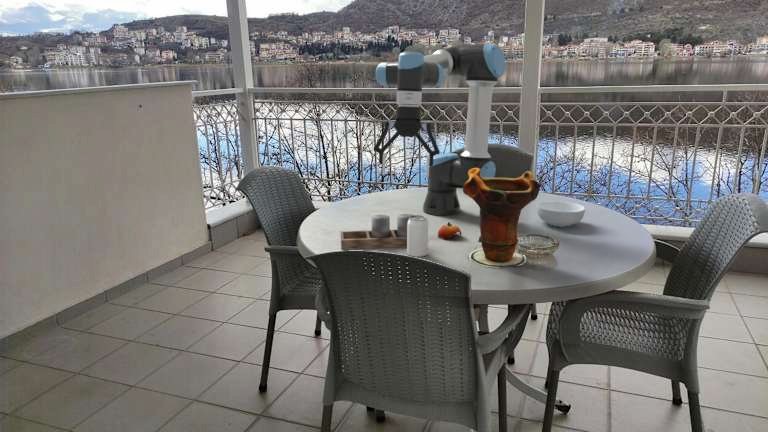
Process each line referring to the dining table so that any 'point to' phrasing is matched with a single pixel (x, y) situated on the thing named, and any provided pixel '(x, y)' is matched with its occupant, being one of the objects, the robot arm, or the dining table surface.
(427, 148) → the robot arm
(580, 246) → the dining table surface
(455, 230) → the tomato
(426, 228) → the can
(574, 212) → the cereal bowl
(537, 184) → the decorative vase
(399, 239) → the socket rail
